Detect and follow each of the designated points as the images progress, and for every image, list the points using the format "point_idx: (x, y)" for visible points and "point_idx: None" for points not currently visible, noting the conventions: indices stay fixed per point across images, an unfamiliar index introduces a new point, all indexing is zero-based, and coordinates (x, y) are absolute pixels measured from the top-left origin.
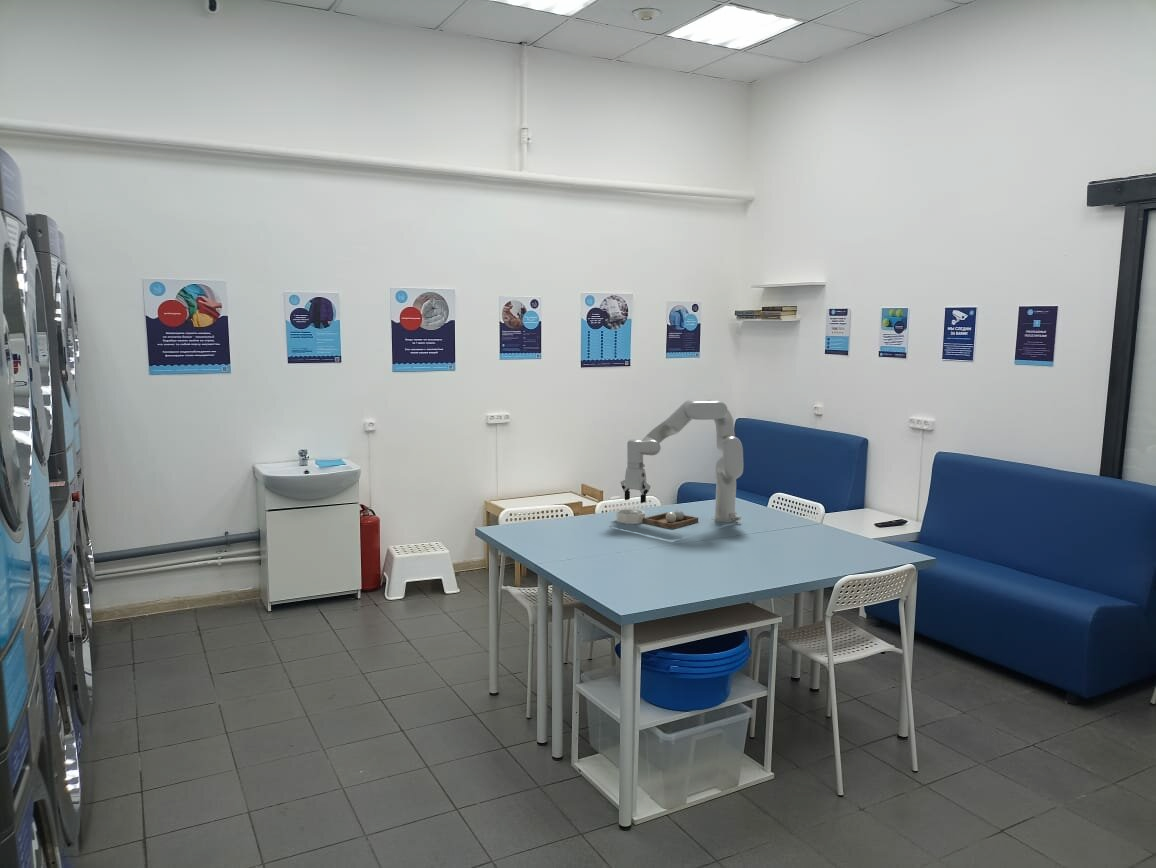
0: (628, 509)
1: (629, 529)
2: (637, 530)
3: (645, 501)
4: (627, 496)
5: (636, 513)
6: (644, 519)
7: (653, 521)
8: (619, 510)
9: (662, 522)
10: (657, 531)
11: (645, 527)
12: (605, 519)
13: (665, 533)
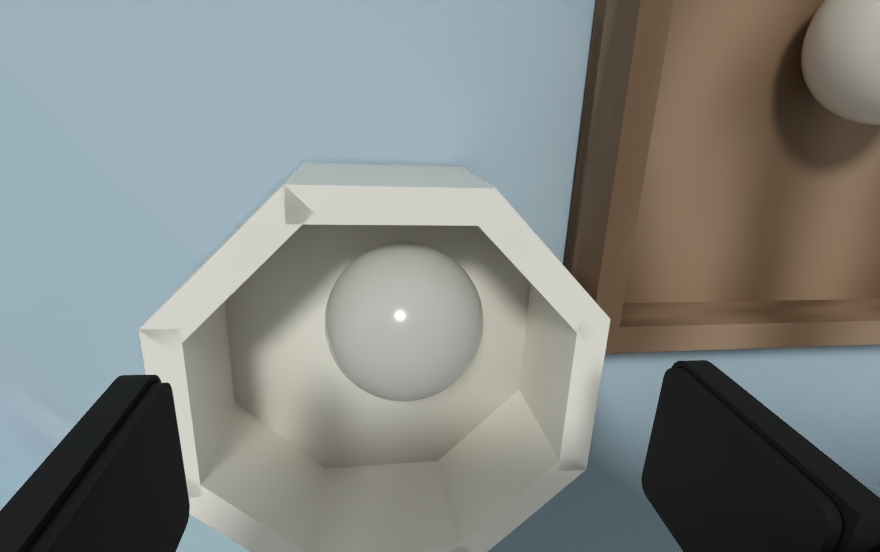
0: (228, 296)
1: (557, 538)
2: (631, 512)
3: (706, 373)
4: (145, 536)
5: (473, 358)
6: (609, 348)
7: (740, 343)
8: (197, 467)
9: (868, 344)
10: (793, 409)
11: (634, 377)
12: (54, 434)
13: (876, 411)
